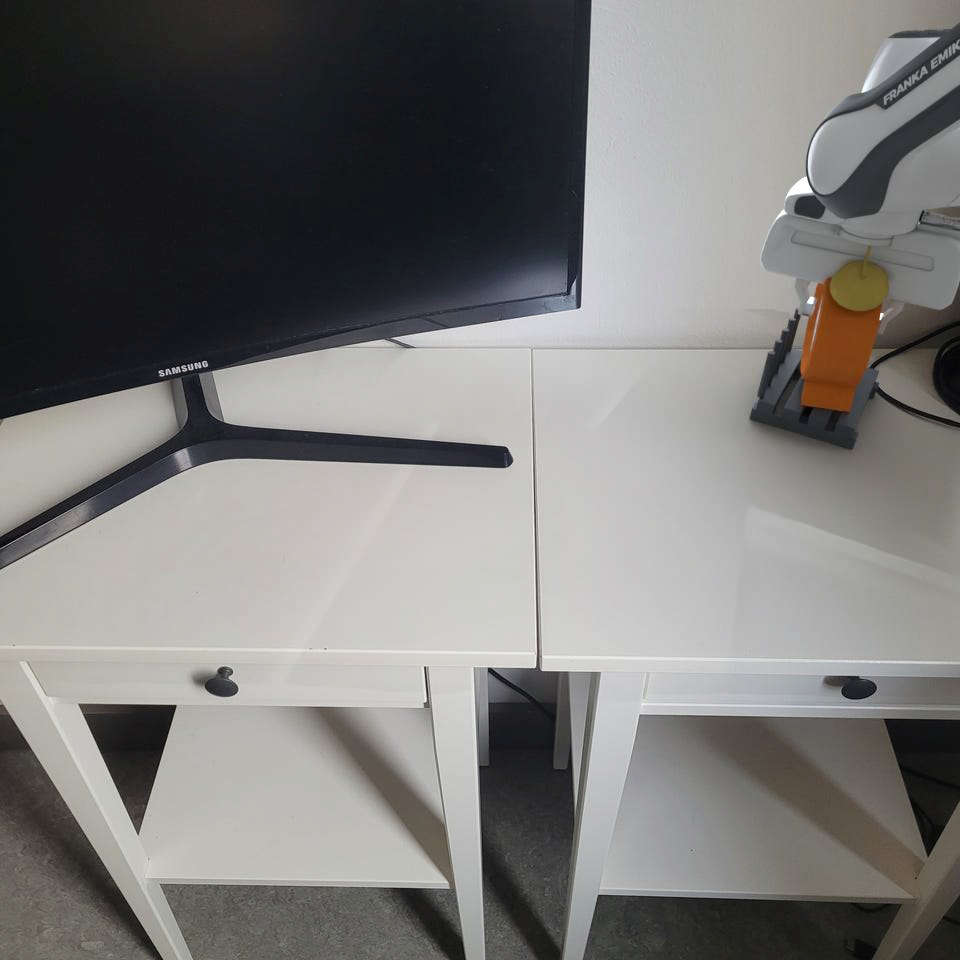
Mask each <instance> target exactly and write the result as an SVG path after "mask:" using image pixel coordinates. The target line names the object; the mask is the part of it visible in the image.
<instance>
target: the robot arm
mask: <svg viewBox="0 0 960 960" xmlns="http://www.w3.org/2000/svg"><path fill="white" fill-rule="evenodd" d="M805 174H806V176H805V177H802V178H801V179H800V180H798V181H797V182H795V184H794V185H793V186H792V187H791V188H790V189H789V191H788V193H787V194H786V197H785V200H784V203H783V209H782V210H781V212H780V213H779V214H778V215H777V217H776V218H775V220H773V222H772V224H771V226H770V229H769V230H768V233H767V236H766V238H765V241H764V243H763V246H762V250H761V253H760V256H759V257H760V258H759V263H760V265H761V267H762V269H763V271H765V272H767V273H772V274H776V275H782V276H786V277H790V278H793V279H794V278H795V283H794V290H795V291H796V295H797V297H798V300H799V302H800V303H799V310H798V314H799V315H801V316H804V317H808V318H809V317H811V315H812V314H813V312H814V309H815V304H816V302H817V298H814V296H811V294H810V293H811V292H810V290H809V285H810V284H811V283H817V284H818V283H821V284H824V281H825V280H826V279H827V278H830V277H833V276H834V275H835V273H836V272H837V271H838V270H839V269H840V268H841V267H842V266H844V265H846V264H847V263H851V262H854V261H864V260H865V257H866V253H867V249H868V246H871V250H870V253H869V257H868V260H867V262H870V263H873V264H875V265H877V266H879V267H880V268H881V269H882V270H883V271H884V272H885V273H886V275H887V277H888V282H889V291H888V294H887V297H886V299H888V300H890V301H889V305H888V307H889V308H888V309H887V310H886V311H884V312H881V315H880V320H879V325H878V329H877V334H879V335H883V334H884V332H885V330H886V326H887V324H888V322H890V321H891V320H892V319H894V318H895V317H896V316H897V315H899V314H900V313H901V312H902V311H903V310H904V307H905V305H906V304H911V305H913V306H914V305H915V306H918V307H924V308H928V309H932V310H937V311H941V310H943V309H946V308H947V307H949V306H950V305H952V304H953V301H954V299H955V296H956V294H957V291H958V288H959V285H960V217H958V216H957V217H952V216H948V215H945V214H941V213H937V212H931V211H926V210H934V209H940V208H941V209H943V208H954V207H960V22H958V23H957V24H955V26H953V27H952V28H939V29H913V30H900V31H897V32H894V33H893V34H892V35H890V36H888V37H886V38H885V39H884V40H883V42H882V43H881V45H880V47H879V48H878V51H877V52H876V54H875V56H874V58H873V60H872V63H871V65H870V67H869V70H868V72H867V74H866V77H865V81H864V84H863V87H862V89H861V92H859V93H854V94H850V95H847V96H845V97H844V98H842V99H841V100H840V101H839V102H837V103H836V104H835V106H833V107H832V108H831V110H830V111H829V112H828V113H827V114H826V115H825V116H824V118H823V119H822V120H821V122H819V125H817V127H816V129H815V130H814V132H813V134H812V136H811V139H810V141H809V144H808V147H807V150H806V156H805Z"/></svg>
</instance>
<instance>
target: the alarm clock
mask: <svg viewBox="0 0 960 960" xmlns="http://www.w3.org/2000/svg"><path fill="white" fill-rule="evenodd" d="M870 250H871V246H868V249H867V253H866V257H865V260H864V261H854V262H851V263H847V264H846V265H844V266H842V267H841V268H840V269H839V270H838V271H837V272H836V273H835V275H834V276H833V277H830V278H827V279H826V280H825V281H824V284H821V283H817V285H816V288H815V291H814V295H813V297H814V298H817V302H816V304H815V309H814V312H813V314H812V315H811V317H808V320H807V323H806V330H805V334H804V341H803V345H802V351H803V352H802V359H801V377H802V378H803V379H804V380H805V382H804V386H803V391H802V397H801V405H805V406H806V407H811V408H814V407H819V408H825V409H832V410H834V411H838V412H842V411H846V412H850V409H851V405H852V401H853V396H854V392H855V388H856V387H857V386H858V385H859V384H860V382H861V379H862V377H863V375H864V373H865V370H866V368H868V365H869V362H870V359H871V356H872V352H873V348H874V346H875V342H876V337H877V334H878V333H877V329H878V325H879V320H880V315H881V313H882V309H883V302H884V301H885V300H886V299H887V298H886V297H887V294H888V291H889V282H888V277H887V275H886V273H885V272H884V271H883V270H882V269H881V268H880V267H879V266H877V265H875V264H873V263H870V262H867V260H868V257H869V253H870Z"/></svg>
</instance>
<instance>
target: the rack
mask: <svg viewBox="0 0 960 960" xmlns="http://www.w3.org/2000/svg"><path fill="white" fill-rule="evenodd" d="M799 307H800V306H799ZM799 307H795V310H794V314H793V317H789V318H788V322H787V325H786V327H785V328H783V329H781V332H780V337H779V339H775V341H774V344H773V347H772V348H773V349H772V350H769V351H768V352H767V354H766V359H765V363H764V366H763V369H762V370H763V371H762V374H761V378H760V382H759V386H758V390H757V394H756V396H757V398H758V400H757V402H755V403H754V404H753V407H752V408H751V410H750V414H749V419H750V420H752V421H755V422H758V423H762V424H765V425H769V426H772V427H776V428H779V429H782V430H786V431H789V432H792V433H795V434H798V435H802V436H806V437H809V438H812V439H815V440H818V441H822V442H825V443H829V444H832V445H835V446H839V447H842V448H844V449H848V450H853V449H854V446H855V444H856V442H857V439H858V437H859V434H860V433H859V432H858V431H855V430H856V428H857V426H858V423H859V421H860V419H861V416H862V414H863V412H864V410H865V407H866V405H867V402H868V400H869V399H872V400H873V399H874V398H875V396H876V394H877V391H878V388H879V385H880V382H878V381H876V380H877V378H878V376H879V372H880V370H878V369H874V368H871V367H867V368H866V370H865V373H864V375H863V377H862V379H861V382H860V384H859V385H858V386H857V387H856V388H855V392H854V396H853V401H852V405H851V409H850V412H846V411H840V415H839V417H838V419H837V422H836V423H835V425H834V424H832V423H829V421H830V419H831V417H832V416H833V413H834V411H835V410H832V409H825V408H819V407H812V410H811V412H810V414H809V416H808V417H807V416H803V414H804V412H805V410H806V408H807V406H805V405H801V397H802V391H803V386H804V382H805V380H804V379H803V378H802V377H801V359H802V352H803V350H800V349H797V348H793V345H794V342H795V338H796V335H797V332H798V328H799V324H800V321H801V316H802V315H799V314H798V310H799ZM794 378H796V379H798V381H797V383H796V385H795V386H794V388H793V390H792V392H791V393H790V395H789V397H788V399H787V401H786V402H785V405H784V406H783V409H781V408H777V407H778V406H779V404H780V403H781V401H782V399H783V397H784V395H785V394H786V391H787V390H788V388H789V386H790V384H791V383H792V381H793V379H794Z"/></svg>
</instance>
